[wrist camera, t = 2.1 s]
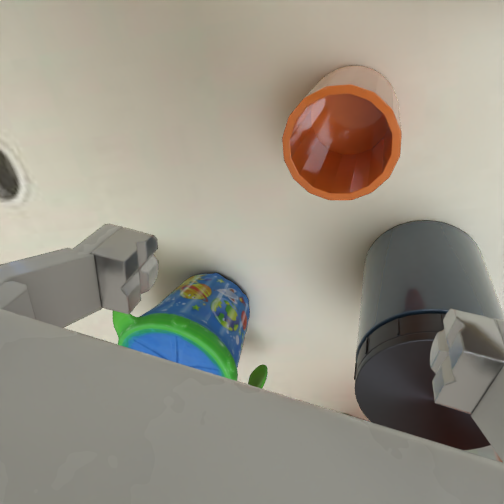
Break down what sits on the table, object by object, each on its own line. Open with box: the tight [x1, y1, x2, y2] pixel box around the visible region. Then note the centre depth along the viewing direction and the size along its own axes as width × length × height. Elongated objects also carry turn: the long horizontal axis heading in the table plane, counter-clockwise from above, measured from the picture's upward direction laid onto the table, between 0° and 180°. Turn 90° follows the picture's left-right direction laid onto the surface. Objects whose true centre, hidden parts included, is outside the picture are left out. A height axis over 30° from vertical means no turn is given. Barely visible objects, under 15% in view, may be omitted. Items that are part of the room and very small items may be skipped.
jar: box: [356, 221, 504, 363], centre depth 28 cm, size 9×9×13 cm
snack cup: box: [113, 273, 267, 389], centre depth 37 cm, size 16×10×10 cm
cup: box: [282, 66, 402, 200], centre depth 25 cm, size 6×6×8 cm
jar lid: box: [354, 314, 491, 450], centre depth 23 cm, size 9×9×2 cm
